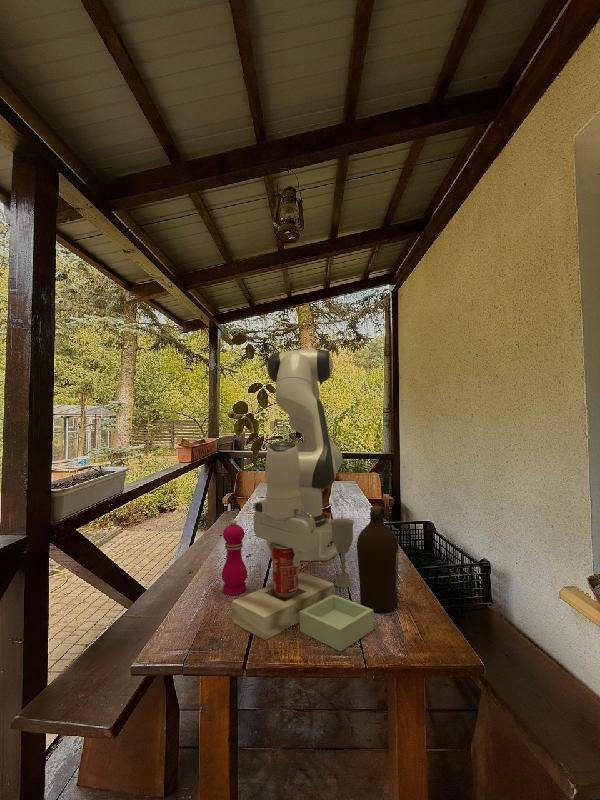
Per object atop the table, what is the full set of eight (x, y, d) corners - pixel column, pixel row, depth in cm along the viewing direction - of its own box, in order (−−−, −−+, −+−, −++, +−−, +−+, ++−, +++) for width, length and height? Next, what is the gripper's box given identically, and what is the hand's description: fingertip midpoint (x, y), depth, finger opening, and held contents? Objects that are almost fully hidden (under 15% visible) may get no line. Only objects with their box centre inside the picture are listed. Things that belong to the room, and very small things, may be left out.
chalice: (359, 581, 123) (358, 520, 124) (350, 590, 117) (348, 525, 118) (337, 577, 127) (335, 517, 127) (327, 585, 121) (325, 522, 121)
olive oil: (362, 615, 103) (360, 513, 104) (354, 596, 114) (352, 503, 114) (405, 613, 104) (402, 511, 104) (393, 594, 114) (391, 502, 115)
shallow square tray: (333, 612, 105) (333, 594, 105) (373, 629, 97) (373, 609, 97) (299, 631, 97) (299, 611, 97) (340, 651, 88) (340, 629, 88)
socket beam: (302, 590, 119) (301, 572, 119) (335, 603, 110) (334, 583, 110) (232, 621, 101) (232, 601, 102) (264, 640, 93) (264, 617, 93)
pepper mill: (219, 587, 121) (218, 518, 122) (244, 583, 124) (243, 515, 124) (224, 598, 115) (223, 524, 115) (250, 593, 117) (248, 521, 117)
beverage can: (284, 585, 111) (283, 539, 111) (303, 591, 107) (301, 543, 107) (268, 593, 106) (266, 545, 106) (287, 600, 102) (285, 550, 102)
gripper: (322, 511, 101) (324, 568, 101) (267, 498, 116) (268, 549, 116) (304, 516, 97) (305, 576, 97) (248, 503, 111) (250, 555, 111)
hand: (284, 561), depth 106 cm, fingers closed on beverage can, 6 cm apart
